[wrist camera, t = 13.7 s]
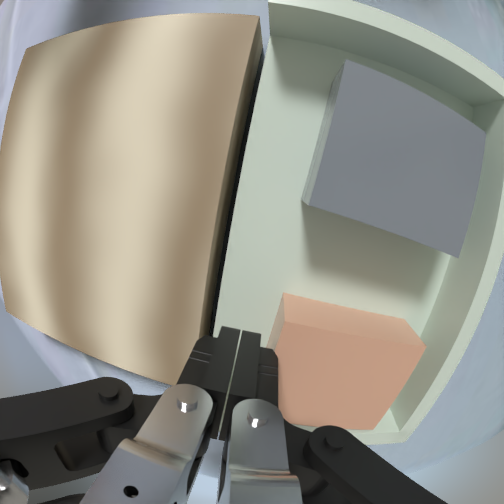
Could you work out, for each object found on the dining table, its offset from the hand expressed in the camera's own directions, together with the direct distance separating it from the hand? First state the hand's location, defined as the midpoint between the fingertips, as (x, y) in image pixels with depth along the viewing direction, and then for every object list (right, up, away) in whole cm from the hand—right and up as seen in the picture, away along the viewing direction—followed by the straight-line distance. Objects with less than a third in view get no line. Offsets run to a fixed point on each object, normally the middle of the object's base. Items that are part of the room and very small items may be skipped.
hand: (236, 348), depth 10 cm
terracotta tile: (+4, -1, +2) cm, 5 cm away
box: (+5, +4, +3) cm, 7 cm away
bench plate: (-7, +7, +3) cm, 11 cm away
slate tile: (+6, +7, 0) cm, 9 cm away
